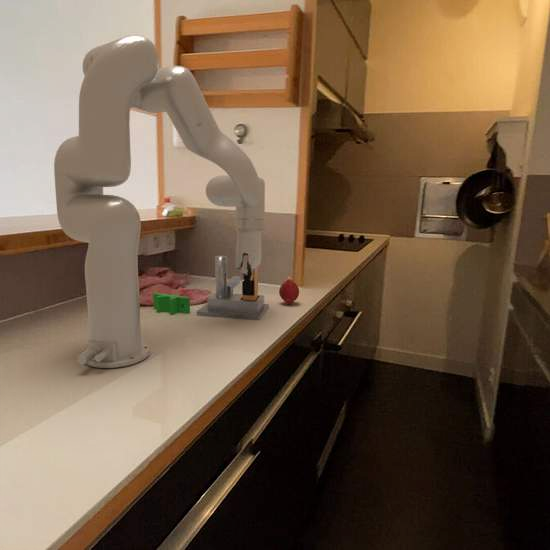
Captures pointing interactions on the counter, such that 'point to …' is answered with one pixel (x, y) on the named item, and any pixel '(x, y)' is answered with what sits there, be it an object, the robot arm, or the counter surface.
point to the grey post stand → (230, 297)
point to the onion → (289, 291)
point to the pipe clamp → (171, 303)
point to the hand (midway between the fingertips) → (250, 292)
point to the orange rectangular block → (255, 279)
